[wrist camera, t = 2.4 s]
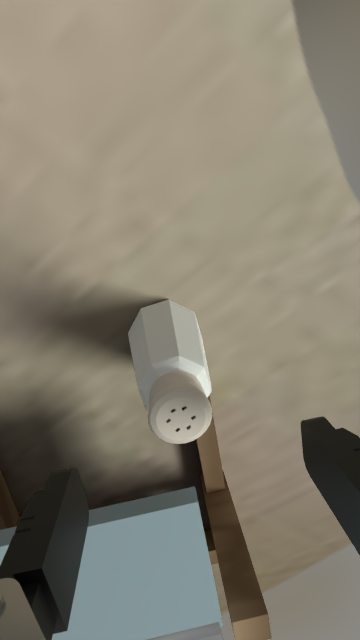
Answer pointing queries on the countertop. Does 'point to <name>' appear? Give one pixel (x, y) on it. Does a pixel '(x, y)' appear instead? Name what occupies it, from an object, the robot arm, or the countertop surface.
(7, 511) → the wooden frame stand
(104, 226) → the countertop surface
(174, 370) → the pepper shaker
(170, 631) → the trapdoor
